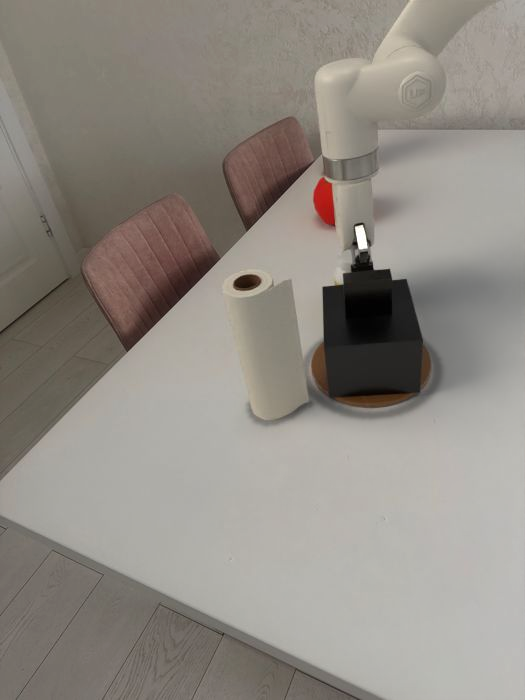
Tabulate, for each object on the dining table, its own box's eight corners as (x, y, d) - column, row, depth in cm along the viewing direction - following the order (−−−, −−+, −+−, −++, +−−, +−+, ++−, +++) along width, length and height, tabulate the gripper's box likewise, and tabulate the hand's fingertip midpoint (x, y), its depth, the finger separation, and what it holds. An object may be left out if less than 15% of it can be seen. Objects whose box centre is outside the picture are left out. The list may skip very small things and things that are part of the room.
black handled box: (311, 333, 81) (301, 249, 71) (420, 325, 78) (424, 236, 68) (311, 411, 68) (298, 321, 58) (441, 404, 65) (451, 309, 55)
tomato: (326, 206, 119) (322, 162, 112) (377, 208, 113) (376, 162, 107) (306, 233, 110) (300, 186, 103) (360, 236, 105) (358, 188, 98)
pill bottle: (332, 324, 83) (327, 264, 76) (342, 302, 88) (338, 243, 80) (371, 328, 81) (370, 266, 73) (379, 305, 85) (378, 245, 78)
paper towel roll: (243, 414, 71) (210, 287, 57) (270, 388, 74) (244, 263, 60) (283, 435, 67) (257, 304, 53) (309, 406, 70) (291, 276, 56)
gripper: (318, 147, 75) (330, 247, 86) (329, 192, 62) (341, 304, 73) (368, 138, 75) (374, 240, 85) (390, 182, 61) (393, 297, 72)
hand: (359, 270), depth 79 cm, fingers open, 9 cm apart
